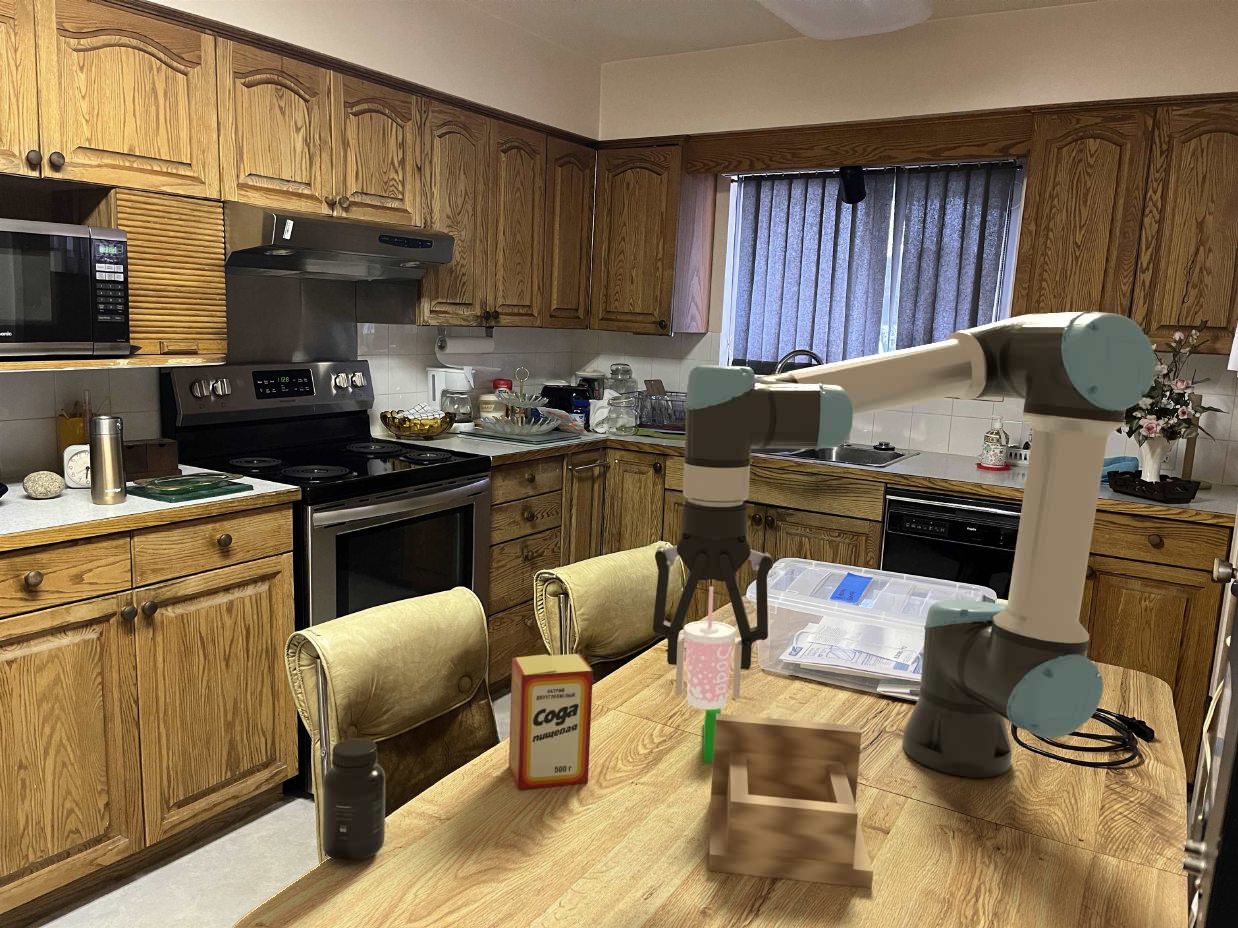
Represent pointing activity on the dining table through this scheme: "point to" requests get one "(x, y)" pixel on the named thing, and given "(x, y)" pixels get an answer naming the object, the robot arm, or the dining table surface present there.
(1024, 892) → the dining table surface
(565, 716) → the baking soda box
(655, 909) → the dining table surface
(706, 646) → the beverage cup
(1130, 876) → the dining table surface
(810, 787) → the wooden caddy with backboard
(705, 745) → the mechanical part
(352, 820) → the supplement bottle
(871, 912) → the dining table surface
